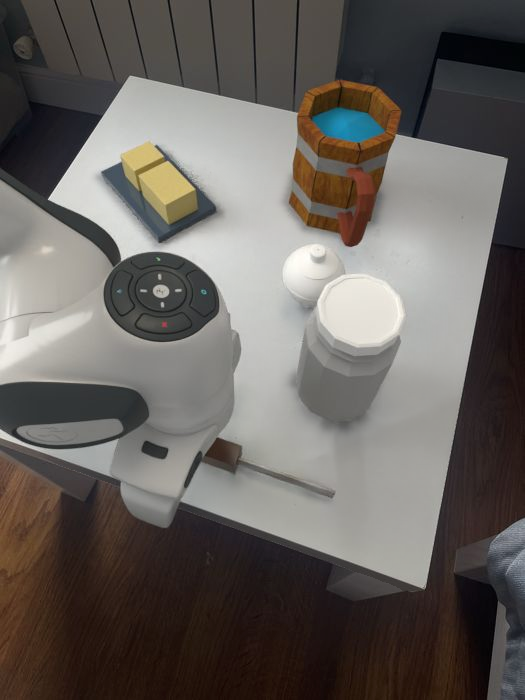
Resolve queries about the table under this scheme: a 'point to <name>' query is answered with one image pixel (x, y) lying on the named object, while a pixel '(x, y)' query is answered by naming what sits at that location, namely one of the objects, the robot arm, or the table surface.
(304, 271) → the spinning top
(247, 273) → the table surface
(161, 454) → the robot arm
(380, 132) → the mug
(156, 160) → the block
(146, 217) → the butter dish
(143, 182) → the butter block
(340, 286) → the jar
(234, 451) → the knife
